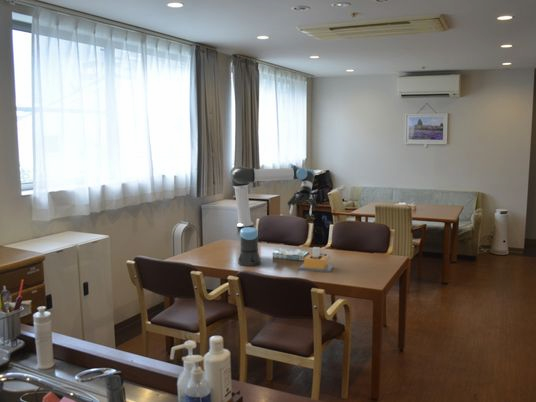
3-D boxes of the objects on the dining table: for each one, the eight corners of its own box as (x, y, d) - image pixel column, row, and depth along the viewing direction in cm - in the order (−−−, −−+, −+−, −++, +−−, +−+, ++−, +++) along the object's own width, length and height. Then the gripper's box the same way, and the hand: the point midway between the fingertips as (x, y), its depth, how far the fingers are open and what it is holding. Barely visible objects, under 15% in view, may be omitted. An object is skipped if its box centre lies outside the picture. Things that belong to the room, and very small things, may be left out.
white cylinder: (312, 266, 319) (312, 248, 317) (313, 265, 323) (313, 247, 321) (318, 267, 318) (318, 248, 316) (319, 265, 321) (320, 247, 320)
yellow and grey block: (298, 269, 318) (298, 258, 317) (303, 265, 329) (303, 253, 328) (329, 272, 311) (329, 260, 310) (333, 267, 323) (333, 256, 322)
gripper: (324, 192, 343) (319, 218, 331) (289, 191, 351) (283, 216, 339) (322, 185, 337) (317, 211, 325) (287, 185, 346) (280, 209, 334)
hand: (300, 214), depth 332 cm, fingers open, 13 cm apart
